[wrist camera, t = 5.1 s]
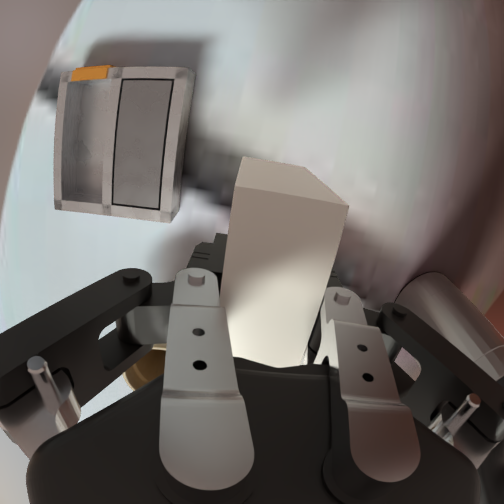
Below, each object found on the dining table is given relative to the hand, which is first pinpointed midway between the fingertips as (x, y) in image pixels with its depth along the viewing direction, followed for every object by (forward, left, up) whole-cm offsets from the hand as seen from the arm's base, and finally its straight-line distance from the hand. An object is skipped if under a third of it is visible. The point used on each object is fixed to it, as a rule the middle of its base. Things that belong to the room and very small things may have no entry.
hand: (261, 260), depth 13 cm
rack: (+13, -3, -15) cm, 20 cm away
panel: (0, 0, -3) cm, 3 cm away
